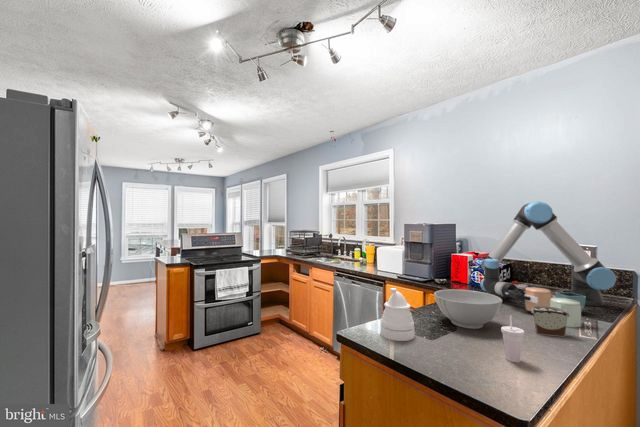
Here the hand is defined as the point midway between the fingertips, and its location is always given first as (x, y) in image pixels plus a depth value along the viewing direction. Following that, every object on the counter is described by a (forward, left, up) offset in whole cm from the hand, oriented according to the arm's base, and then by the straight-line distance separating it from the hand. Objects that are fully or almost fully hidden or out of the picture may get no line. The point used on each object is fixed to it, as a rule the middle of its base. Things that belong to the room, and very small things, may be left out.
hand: (546, 299), depth 143 cm
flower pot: (-18, -2, -8) cm, 20 cm away
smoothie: (+56, +33, -8) cm, 65 cm away
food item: (-18, -33, -8) cm, 38 cm away
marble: (+2, -4, -6) cm, 8 cm away
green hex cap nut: (+2, +10, -8) cm, 13 cm away
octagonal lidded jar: (0, -4, -6) cm, 7 cm away
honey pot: (+81, +4, -8) cm, 81 cm away
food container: (+21, +17, -8) cm, 28 cm away
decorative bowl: (+45, 0, -8) cm, 46 cm away
